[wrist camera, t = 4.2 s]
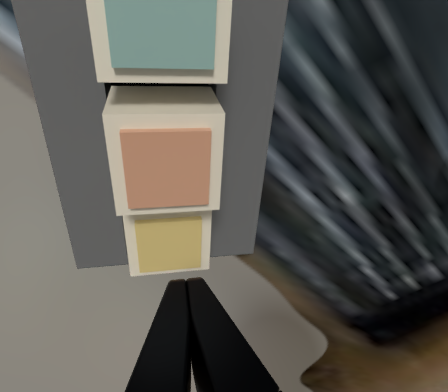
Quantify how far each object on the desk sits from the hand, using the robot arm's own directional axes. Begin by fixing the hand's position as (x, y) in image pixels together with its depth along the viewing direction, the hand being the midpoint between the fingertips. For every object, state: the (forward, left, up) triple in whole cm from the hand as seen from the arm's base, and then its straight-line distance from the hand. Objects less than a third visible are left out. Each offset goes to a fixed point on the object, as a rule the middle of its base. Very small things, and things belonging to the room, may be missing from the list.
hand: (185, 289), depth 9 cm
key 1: (0, -6, -8) cm, 10 cm away
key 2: (0, -1, -8) cm, 8 cm away
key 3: (0, +4, -10) cm, 11 cm away
